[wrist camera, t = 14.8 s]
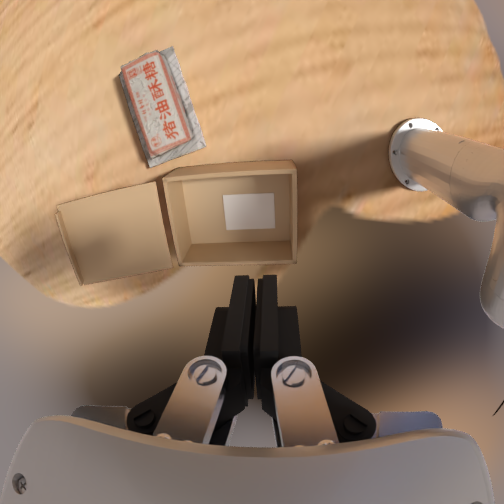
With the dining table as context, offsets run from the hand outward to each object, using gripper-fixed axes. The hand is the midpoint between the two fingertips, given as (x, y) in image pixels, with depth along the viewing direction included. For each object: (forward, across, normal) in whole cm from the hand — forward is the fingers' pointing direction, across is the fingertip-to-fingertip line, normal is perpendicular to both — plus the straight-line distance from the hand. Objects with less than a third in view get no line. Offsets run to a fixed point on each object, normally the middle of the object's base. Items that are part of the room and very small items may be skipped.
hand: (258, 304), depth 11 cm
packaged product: (+34, +16, -10) cm, 39 cm away
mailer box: (+33, +5, +7) cm, 34 cm away
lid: (+21, +22, +7) cm, 31 cm away
